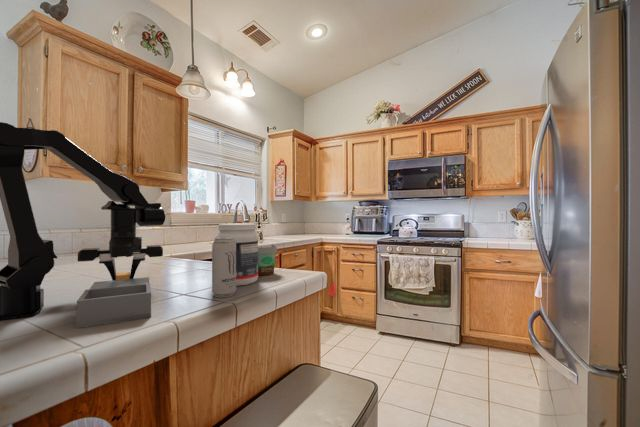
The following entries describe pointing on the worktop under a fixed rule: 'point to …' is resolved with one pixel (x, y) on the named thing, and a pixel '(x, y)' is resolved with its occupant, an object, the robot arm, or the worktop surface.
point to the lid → (120, 281)
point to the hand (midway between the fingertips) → (123, 284)
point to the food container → (266, 260)
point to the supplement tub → (243, 250)
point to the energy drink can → (223, 267)
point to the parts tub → (113, 305)
